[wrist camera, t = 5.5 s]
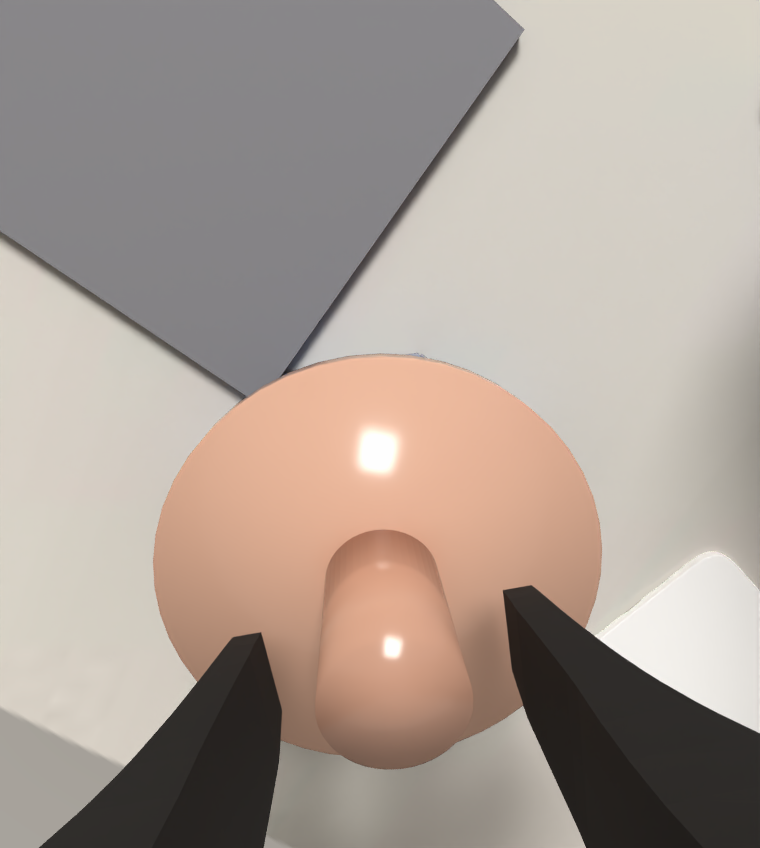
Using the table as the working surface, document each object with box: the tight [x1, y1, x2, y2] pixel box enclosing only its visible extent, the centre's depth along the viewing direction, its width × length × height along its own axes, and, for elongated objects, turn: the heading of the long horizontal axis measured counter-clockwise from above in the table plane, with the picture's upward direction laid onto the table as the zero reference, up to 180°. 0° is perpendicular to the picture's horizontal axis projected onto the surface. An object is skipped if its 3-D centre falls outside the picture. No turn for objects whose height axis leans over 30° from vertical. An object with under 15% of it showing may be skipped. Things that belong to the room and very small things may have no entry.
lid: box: [153, 354, 602, 769], centre depth 12 cm, size 11×11×5 cm
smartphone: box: [595, 551, 760, 733], centre depth 21 cm, size 7×1×15 cm
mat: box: [0, 0, 524, 396], centre depth 14 cm, size 12×12×1 cm
